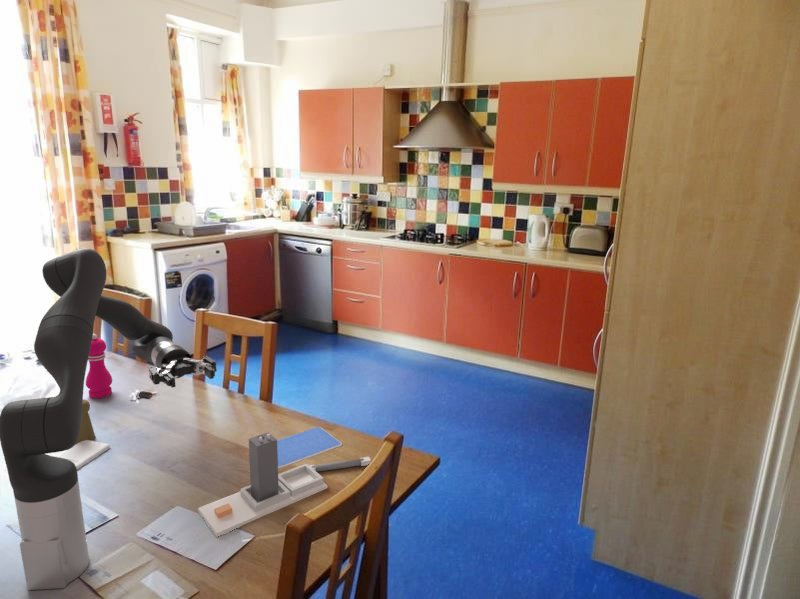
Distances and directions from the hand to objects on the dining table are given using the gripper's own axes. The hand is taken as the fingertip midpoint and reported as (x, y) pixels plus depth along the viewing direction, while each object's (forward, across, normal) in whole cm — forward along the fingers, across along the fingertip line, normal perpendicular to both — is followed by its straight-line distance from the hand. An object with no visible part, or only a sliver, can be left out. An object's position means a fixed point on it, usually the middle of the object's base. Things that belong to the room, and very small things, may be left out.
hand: (193, 378), depth 118 cm
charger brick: (+18, +8, +24) cm, 31 cm away
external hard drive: (-25, -21, +25) cm, 41 cm away
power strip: (+18, +8, +25) cm, 32 cm away
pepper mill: (-62, -9, +24) cm, 67 cm away
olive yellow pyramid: (-34, -19, +24) cm, 46 cm away
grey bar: (+17, +28, +24) cm, 41 cm away
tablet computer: (+3, +25, +25) cm, 36 cm away
